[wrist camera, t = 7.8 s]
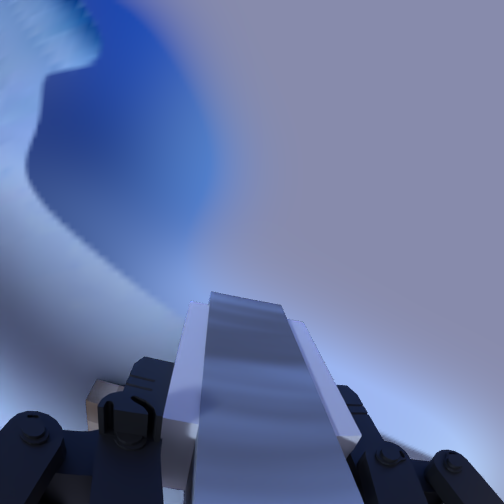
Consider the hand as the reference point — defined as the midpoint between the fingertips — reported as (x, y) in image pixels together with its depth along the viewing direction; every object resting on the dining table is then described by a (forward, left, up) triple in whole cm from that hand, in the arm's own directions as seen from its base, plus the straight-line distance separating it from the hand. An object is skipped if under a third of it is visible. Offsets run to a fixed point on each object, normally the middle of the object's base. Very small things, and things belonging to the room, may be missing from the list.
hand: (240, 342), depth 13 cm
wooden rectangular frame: (+12, 0, -1) cm, 12 cm away
